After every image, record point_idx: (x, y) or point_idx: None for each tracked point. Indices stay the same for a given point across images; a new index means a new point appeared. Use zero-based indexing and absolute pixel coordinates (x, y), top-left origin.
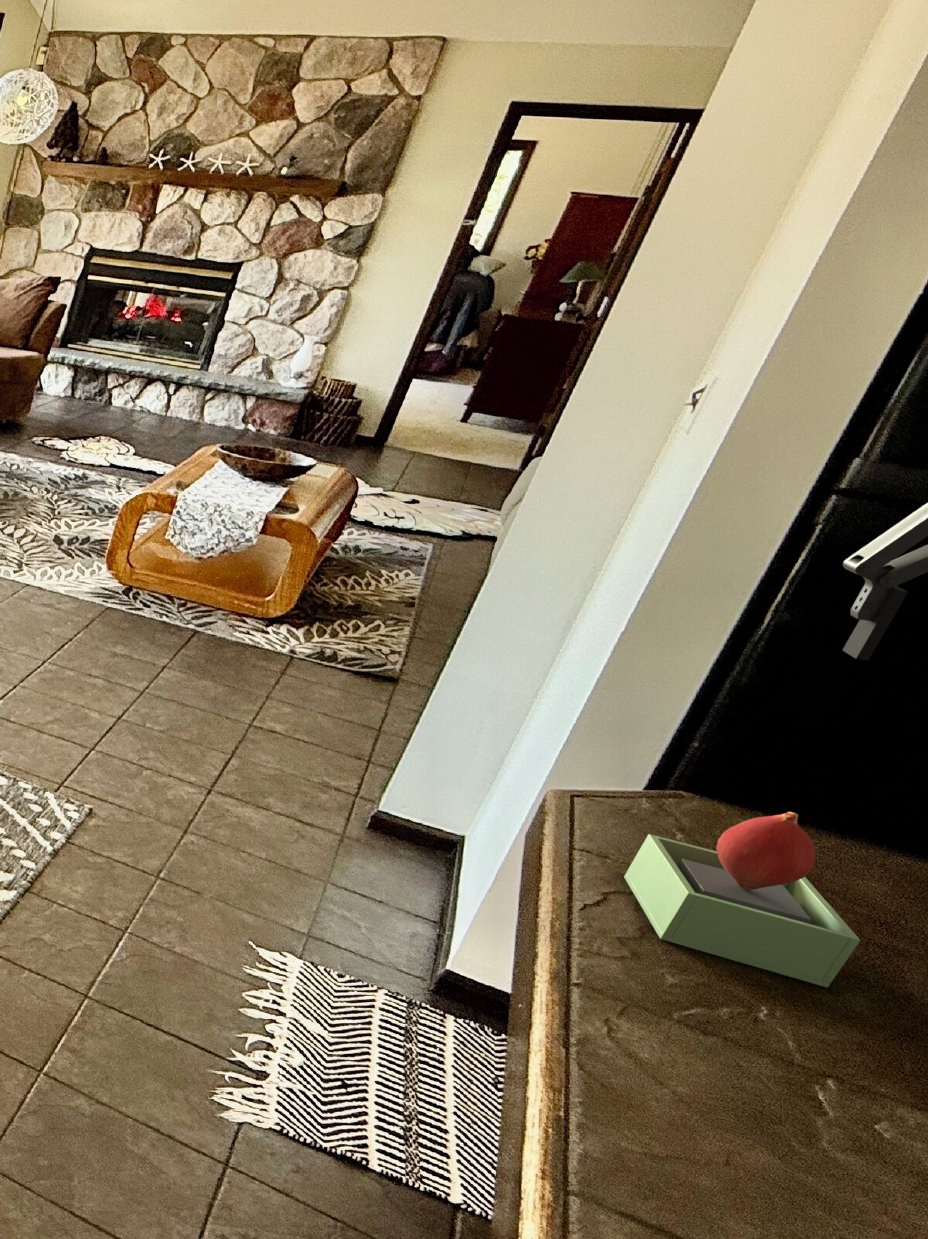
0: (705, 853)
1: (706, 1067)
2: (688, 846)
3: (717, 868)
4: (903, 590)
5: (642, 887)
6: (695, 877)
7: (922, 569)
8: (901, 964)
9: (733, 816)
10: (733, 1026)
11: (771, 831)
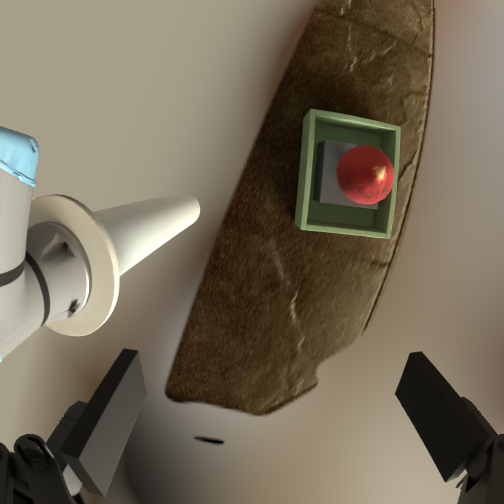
0: (358, 229)
1: (389, 6)
2: (369, 231)
3: (358, 205)
4: (479, 444)
5: None
6: None
7: (497, 481)
8: (233, 195)
9: (245, 399)
10: (371, 43)
11: (385, 160)
